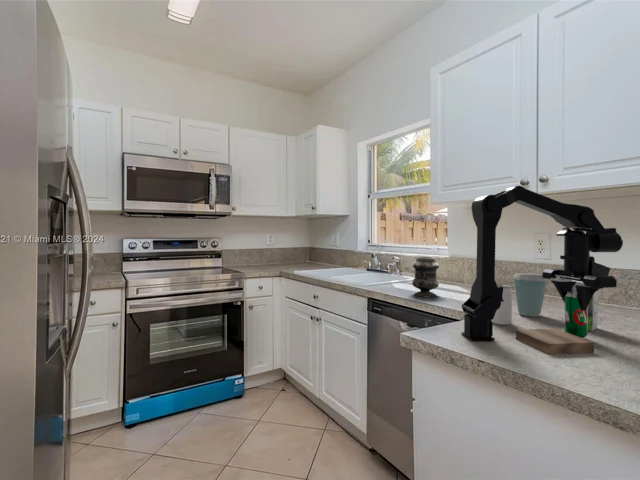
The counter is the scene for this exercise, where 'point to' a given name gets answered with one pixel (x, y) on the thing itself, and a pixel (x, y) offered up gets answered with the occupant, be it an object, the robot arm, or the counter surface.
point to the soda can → (575, 316)
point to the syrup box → (590, 309)
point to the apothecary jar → (425, 275)
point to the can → (504, 308)
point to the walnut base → (554, 341)
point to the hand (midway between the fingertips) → (575, 308)
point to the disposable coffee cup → (529, 293)
